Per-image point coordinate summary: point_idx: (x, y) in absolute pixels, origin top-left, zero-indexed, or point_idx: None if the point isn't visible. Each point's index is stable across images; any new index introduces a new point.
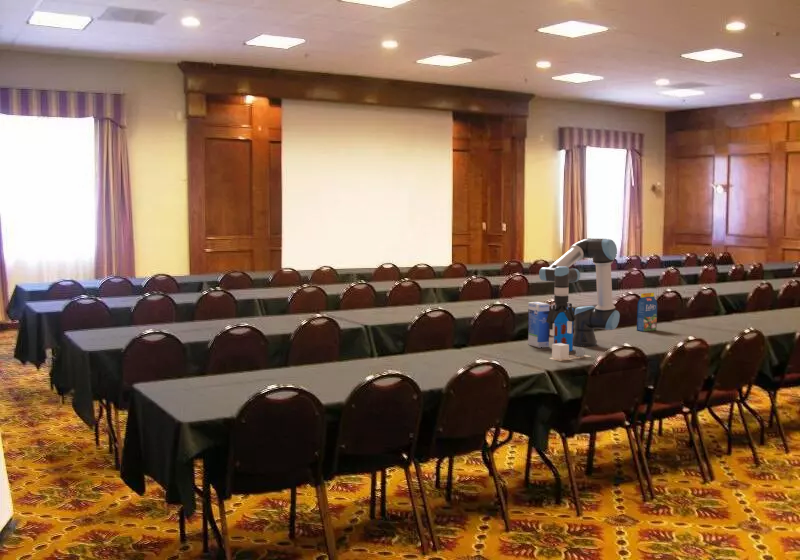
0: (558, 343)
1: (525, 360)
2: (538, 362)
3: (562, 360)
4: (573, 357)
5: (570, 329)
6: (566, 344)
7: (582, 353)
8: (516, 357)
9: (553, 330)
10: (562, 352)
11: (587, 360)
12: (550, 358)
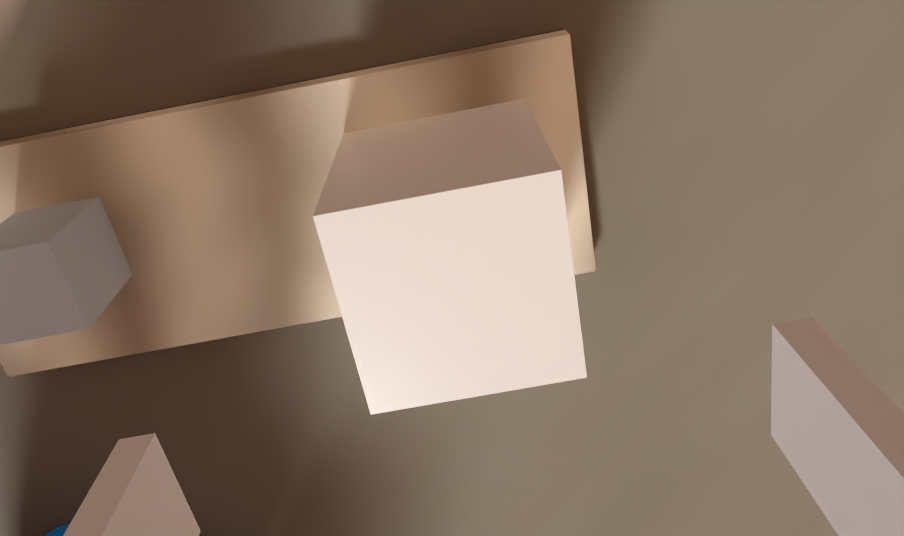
0: (434, 393)
1: (857, 341)
2: (818, 174)
3: (516, 48)
4: (225, 185)
5: (116, 525)
6: (349, 256)
7: (28, 223)
8: (809, 506)
9: (899, 410)
10: (487, 138)
11: (54, 17)
12: (581, 246)
